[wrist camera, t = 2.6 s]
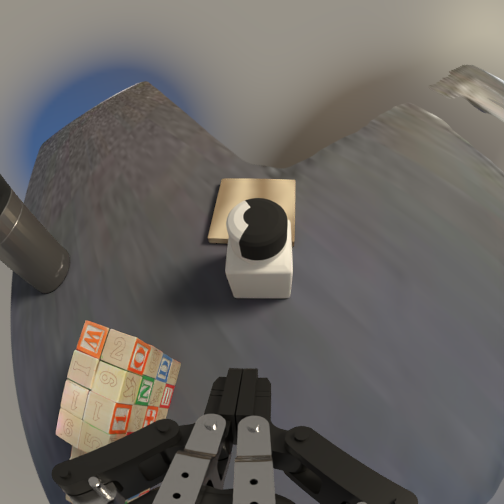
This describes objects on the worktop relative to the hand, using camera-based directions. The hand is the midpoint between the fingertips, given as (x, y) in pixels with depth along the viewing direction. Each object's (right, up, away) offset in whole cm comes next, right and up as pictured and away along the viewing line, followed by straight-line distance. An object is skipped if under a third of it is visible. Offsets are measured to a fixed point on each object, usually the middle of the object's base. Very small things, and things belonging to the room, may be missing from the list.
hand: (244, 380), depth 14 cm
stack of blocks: (-13, -15, +13) cm, 24 cm away
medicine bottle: (+2, +4, +23) cm, 24 cm away
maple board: (+1, +13, +29) cm, 32 cm away
